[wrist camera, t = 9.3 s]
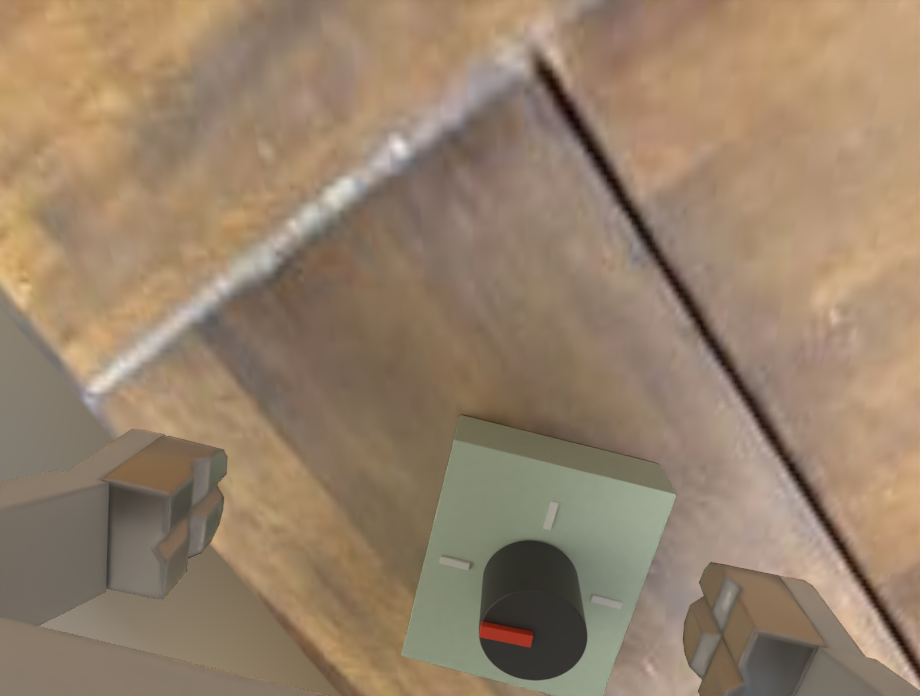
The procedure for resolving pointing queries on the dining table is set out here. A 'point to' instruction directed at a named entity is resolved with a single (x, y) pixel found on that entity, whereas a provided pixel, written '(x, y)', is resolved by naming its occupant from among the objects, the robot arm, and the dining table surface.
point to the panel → (537, 519)
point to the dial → (532, 612)
